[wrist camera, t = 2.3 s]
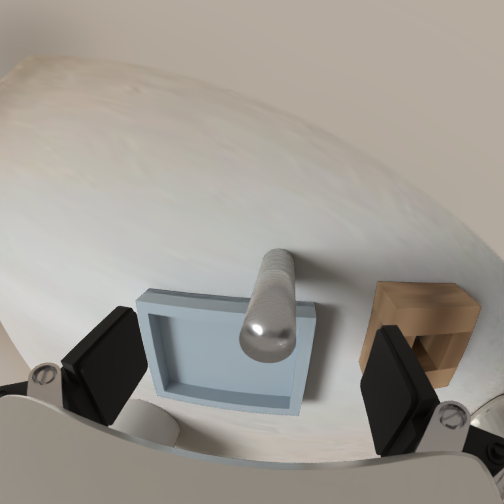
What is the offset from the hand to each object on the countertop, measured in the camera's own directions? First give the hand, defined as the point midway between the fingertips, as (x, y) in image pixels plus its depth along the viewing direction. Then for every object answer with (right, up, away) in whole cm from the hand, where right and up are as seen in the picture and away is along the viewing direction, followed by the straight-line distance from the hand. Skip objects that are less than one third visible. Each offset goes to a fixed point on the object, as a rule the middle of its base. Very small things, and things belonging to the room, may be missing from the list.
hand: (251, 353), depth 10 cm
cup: (-13, -18, +19) cm, 30 cm away
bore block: (+14, -3, +11) cm, 18 cm away
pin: (+2, +3, +11) cm, 11 cm away
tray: (-2, -5, +14) cm, 15 cm away
